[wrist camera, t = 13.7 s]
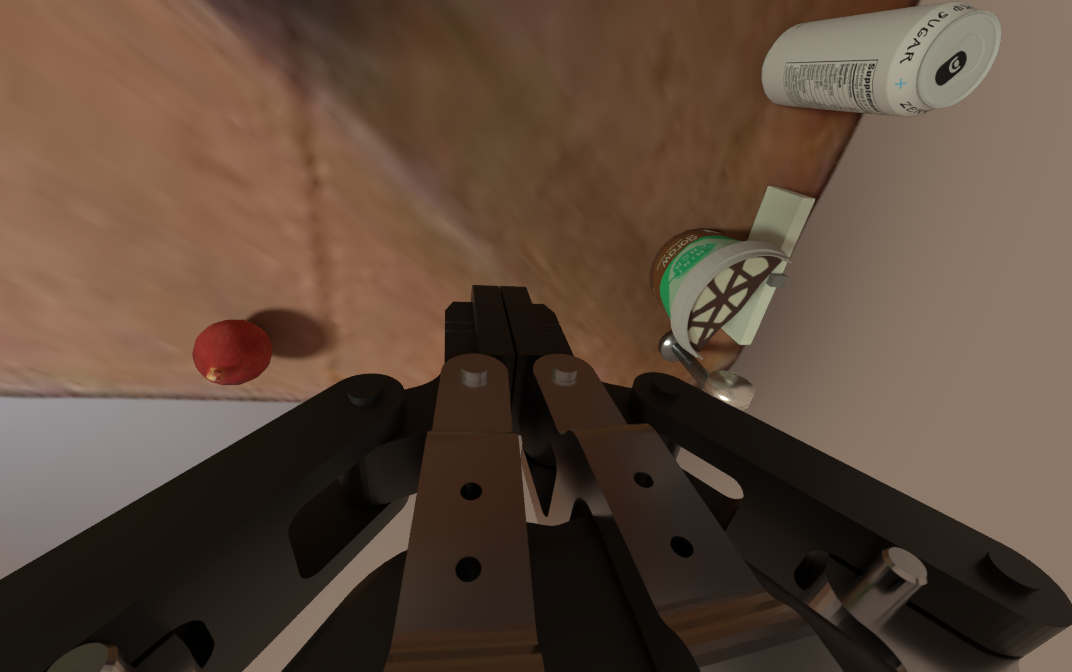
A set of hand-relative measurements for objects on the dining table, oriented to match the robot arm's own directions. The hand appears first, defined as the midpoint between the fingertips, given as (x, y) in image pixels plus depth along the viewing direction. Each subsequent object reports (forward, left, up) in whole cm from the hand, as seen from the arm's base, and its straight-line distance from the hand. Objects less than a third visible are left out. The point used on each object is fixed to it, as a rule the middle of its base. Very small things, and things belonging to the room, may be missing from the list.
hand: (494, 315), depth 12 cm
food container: (+8, +23, -29) cm, 38 cm away
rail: (+8, +31, -29) cm, 43 cm away
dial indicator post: (+19, +26, -29) cm, 43 cm away
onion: (+18, -20, -29) cm, 40 cm away
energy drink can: (-10, +28, -29) cm, 42 cm away
